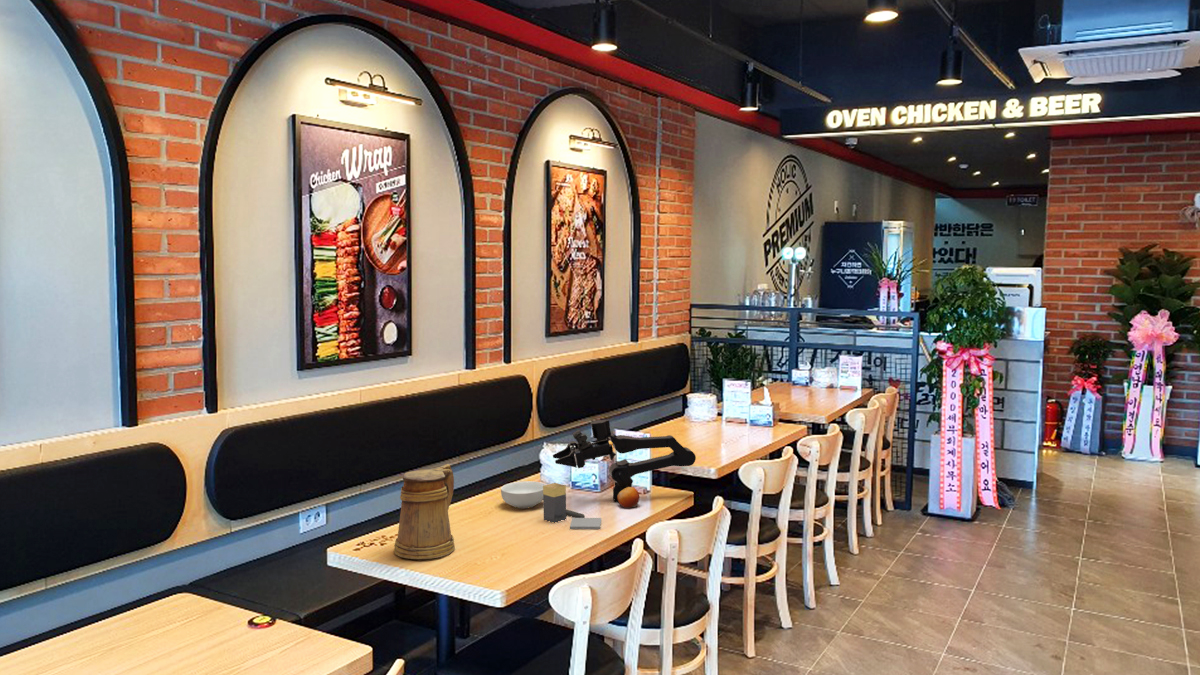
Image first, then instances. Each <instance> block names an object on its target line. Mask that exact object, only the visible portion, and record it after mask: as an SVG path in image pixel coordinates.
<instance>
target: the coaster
mask: <svg viewBox="0 0 1200 675" xmlns="http://www.w3.org/2000/svg"><path fill="white" fill-rule="evenodd" d="M601 525H602V517H585V518H574V517H571V520H570V525H569V530H570V529H600V530H601V527H602V526H601ZM600 526H601V527H600Z"/></svg>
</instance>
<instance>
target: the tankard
mask: <svg viewBox="0 0 1200 675" xmlns="http://www.w3.org/2000/svg"><path fill="white" fill-rule="evenodd" d="M402 480H403V486H402V487H401V488H400V498H399V499H400V500H401V504H400V515H399V523H398V531H397V537H396V538H395V540H394V542H395V543H394V546H393V547H394V549H393V554H395V555H396V556H398V557H400V558H403V559H411V560H429V559H430V560H431V559H437V558H441V557H445V556H447V555H450V554H452V552H454V551H455V549H456V545H455V539H454V536H453V534H452V531H451V524H450V517H449V516H450V515H449V508H450V506H451V502H452V498H453V495H454V489H455V485H454V484H455V476H454V472H453V469H452V468H451V464H450V463H446V464H443V465H440V467H434V468H427V469H417V470H413V471H407V472H405V473H404V474H403V476H402Z"/></svg>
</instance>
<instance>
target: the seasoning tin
mask: <svg viewBox="0 0 1200 675" xmlns="http://www.w3.org/2000/svg"><path fill="white" fill-rule="evenodd" d="M566 489H567V486H566V485H565V484H562V483H557V482H554V483H549V484H546V485H544V486H543V501H542V502H543V503H542V504H543V521H545V520H547V521H546V522H548V521H550V522H549V523H552V522H554V523H553V524H556V523H555V522H557V523H559V522H558V521H561V520H564V521H566V520H567V515H566V509H567V493H566V492H567V490H566ZM565 519H566V520H565ZM561 522H562V521H561Z"/></svg>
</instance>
